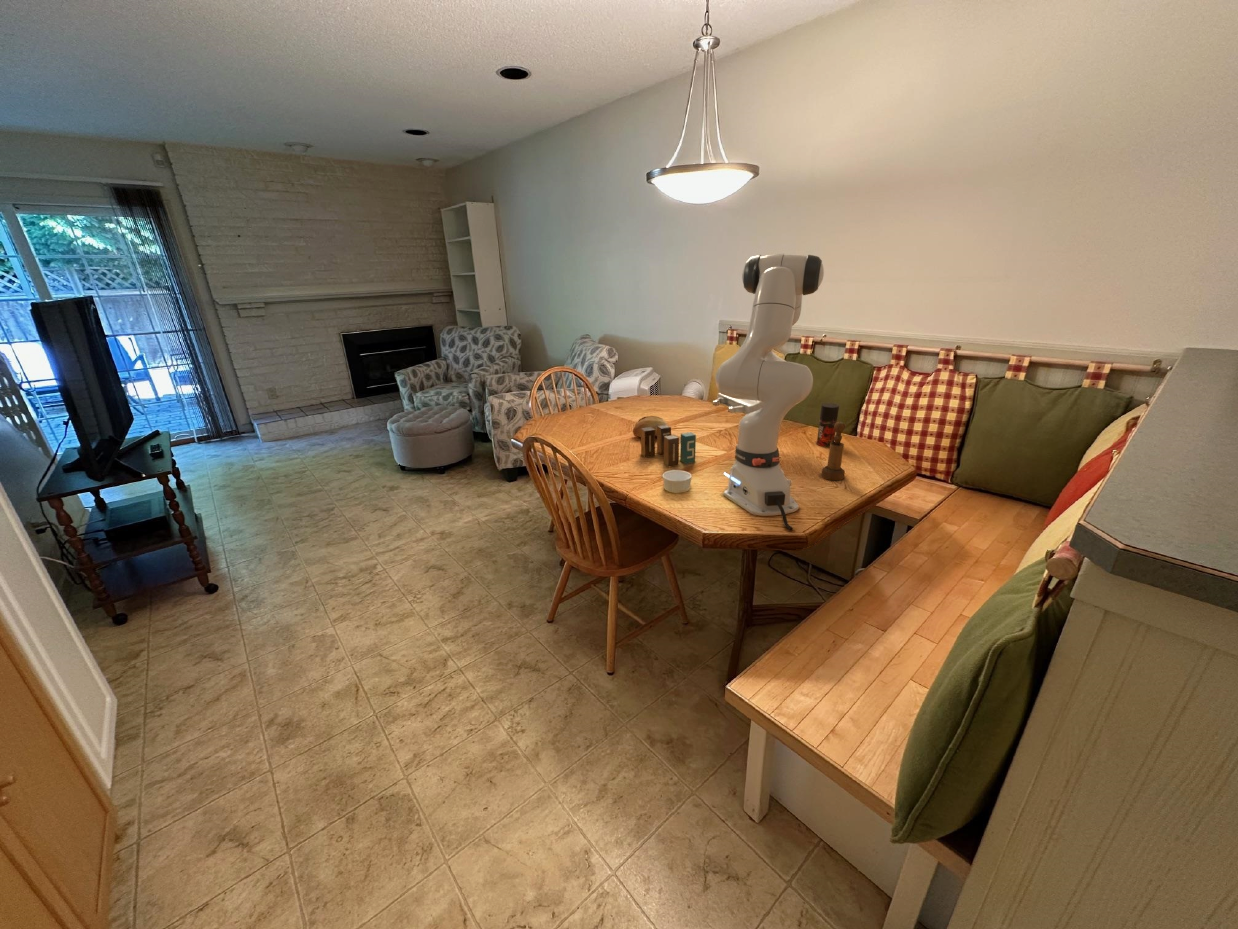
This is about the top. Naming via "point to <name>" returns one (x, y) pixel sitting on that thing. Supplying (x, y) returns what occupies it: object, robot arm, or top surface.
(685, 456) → the s tile
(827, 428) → the deodorant
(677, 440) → the tile
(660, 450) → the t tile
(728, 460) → the top surface
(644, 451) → the tile
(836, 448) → the brown wooden tall figure
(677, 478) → the ramekin
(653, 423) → the bread roll
